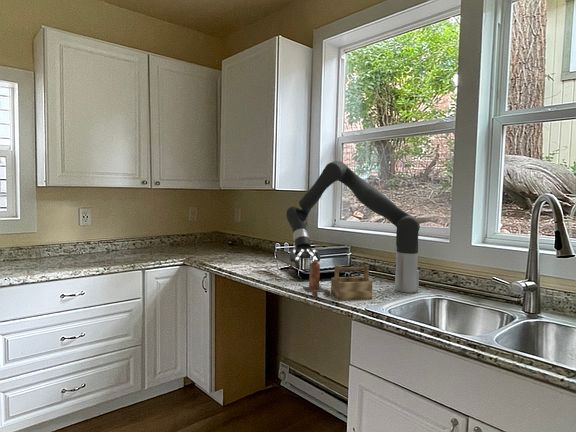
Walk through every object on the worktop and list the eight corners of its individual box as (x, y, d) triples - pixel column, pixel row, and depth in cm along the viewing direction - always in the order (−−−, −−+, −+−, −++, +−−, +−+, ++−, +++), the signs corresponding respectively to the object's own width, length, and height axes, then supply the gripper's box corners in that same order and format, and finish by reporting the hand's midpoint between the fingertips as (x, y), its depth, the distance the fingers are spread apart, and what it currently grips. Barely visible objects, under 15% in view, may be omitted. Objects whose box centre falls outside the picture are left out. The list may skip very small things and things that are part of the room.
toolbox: (361, 292, 171) (362, 262, 170) (371, 298, 162) (373, 267, 161) (330, 293, 168) (331, 263, 167) (339, 300, 158) (340, 267, 158)
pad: (319, 287, 179) (319, 286, 179) (325, 291, 172) (325, 290, 172) (302, 287, 178) (302, 286, 178) (307, 292, 170) (307, 291, 170)
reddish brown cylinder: (316, 287, 177) (317, 260, 176) (319, 289, 173) (320, 262, 173) (309, 287, 176) (309, 260, 175) (311, 289, 173) (312, 262, 172)
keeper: (327, 294, 168) (327, 289, 168) (330, 296, 164) (330, 291, 164) (311, 294, 166) (312, 289, 166) (314, 297, 162) (314, 292, 162)
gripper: (289, 235, 189) (294, 264, 179) (317, 235, 192) (324, 263, 182) (286, 244, 194) (290, 273, 184) (313, 245, 198) (320, 272, 188)
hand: (307, 268), depth 183 cm, fingers open, 8 cm apart
